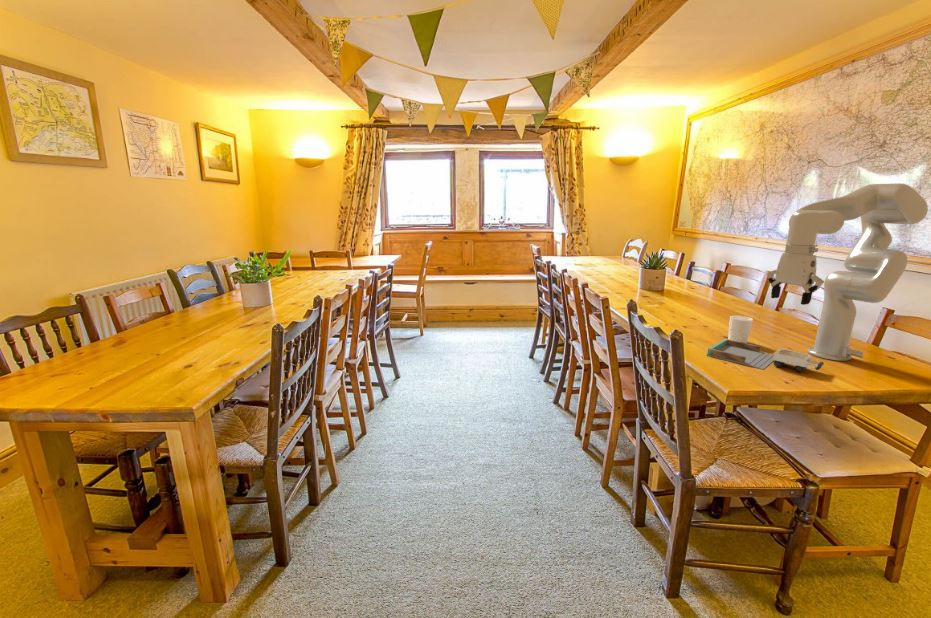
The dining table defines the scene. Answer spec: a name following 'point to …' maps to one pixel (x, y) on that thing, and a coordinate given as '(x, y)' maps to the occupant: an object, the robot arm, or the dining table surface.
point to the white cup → (739, 328)
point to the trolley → (795, 359)
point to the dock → (740, 353)
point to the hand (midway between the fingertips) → (789, 300)
